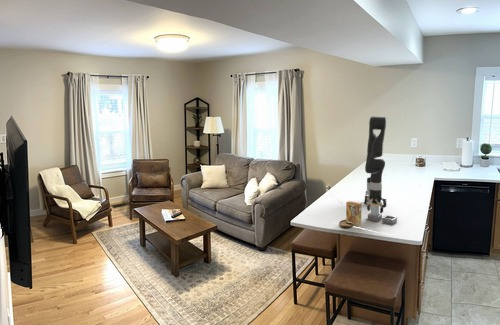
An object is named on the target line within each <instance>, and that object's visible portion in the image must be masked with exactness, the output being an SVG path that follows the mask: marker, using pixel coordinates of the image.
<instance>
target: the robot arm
mask: <svg viewBox="0 0 500 325" xmlns="http://www.w3.org/2000/svg"><path fill="white" fill-rule="evenodd" d="M368 122H369V123H368V124H369V125H368V127H369V129H368V140H367V152H366V160H365V167H364V170H365V173H366V174H370V177H367V179H366V191H365V195H364V202H363V203H364V205H366V210H367V212H369V211H370V212H371V203H376V204H378V205H379V214H382V213H384V208H386V207H387V198H386V197H385V198H383V197H382V192H383V191H382V189H383V184H382V177H383V172H384V169H385V166H386V161H385V160H384V159H383V158H381V157H382V156H383V155H384V152H383V151H384V141H385V136H386V130H387V117H386V116H380V115H379V116H378V115H374V116H370V119H369V121H368ZM375 130H377V131H378V130H380V132H379V134H376V131H375Z"/></svg>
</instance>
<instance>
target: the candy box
mask: <svg viewBox="0 0 500 325" xmlns="http://www.w3.org/2000/svg"><path fill="white" fill-rule="evenodd" d="M345 203H346V204H345V206H346V209H345V211H346V212H345V213H346V218H345V222H346V221H350V222H352V223H353V224H352V225H354V226H356V227H358V228H359V226H361V225H362V203H361V202H358V201H352V200H348V201H346V202H345Z"/></svg>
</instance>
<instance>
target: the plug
mask: <svg viewBox="0 0 500 325" xmlns="http://www.w3.org/2000/svg"><path fill="white" fill-rule="evenodd" d="M370 213H371V215H373V216H378V215H379V214H380V206H379V205H378V204H376V203H371V205H370Z"/></svg>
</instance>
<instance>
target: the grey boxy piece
mask: <svg viewBox="0 0 500 325" xmlns="http://www.w3.org/2000/svg"><path fill="white" fill-rule="evenodd" d="M365 221H369V222H373V223H378V224H382V225H388V226H394V225H395V224H396V223H399V220H398V217H397V216H393V215H388V214H386V215H384V216H383V214H382V213H379V215H378V216H373V215H371V212H370V213H368V214H367V218H366V219H365Z"/></svg>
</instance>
